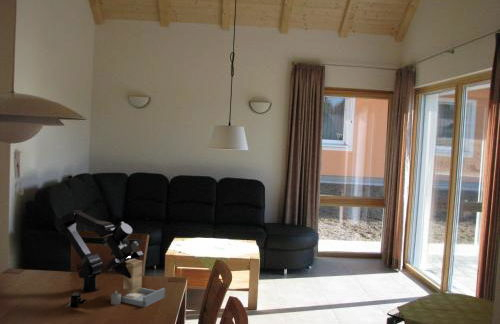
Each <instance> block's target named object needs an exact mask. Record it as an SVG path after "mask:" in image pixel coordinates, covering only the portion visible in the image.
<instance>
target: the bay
mask: <svg viewBox="0 0 500 324" xmlns="http://www.w3.org/2000/svg"><path fill="white" fill-rule="evenodd" d="M164 298H166V287H162V288H160V289H158V290H155V289H149V288H145V287H142V289H141V290H140V291H137V292H135V293H133V294H132V293H126V294H125V295H122V293H121V292H118V290H115V291H114V292H112V293H111V294H110V304H111V305H112V306H113V305H114V306H117V305H121V304H122V303H124V304H125V303H126V304H129V305H134V306H137V307H143V308H146V307H148V306H150V305H152V304H154V303H156V302H158V301H160V300H163V299H164Z"/></svg>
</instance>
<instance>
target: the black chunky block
mask: <svg viewBox="0 0 500 324" xmlns="http://www.w3.org/2000/svg"><path fill="white" fill-rule="evenodd" d="M81 293H82V292H73V293H72V294H71V295H70V302H69V303H68V304H67V305H66V306H65V308H74V309H75V308H77V309H79V308H80V306H79V305H82V304H83V303H85V301H86V299H82V294H81Z"/></svg>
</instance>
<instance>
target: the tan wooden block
mask: <svg viewBox="0 0 500 324" xmlns="http://www.w3.org/2000/svg"><path fill="white" fill-rule="evenodd" d="M143 262H144V260H142V259H141V260H140V259H139V260H137V259H132V260H129V261H126V268H127V269H128V271H129V273H130V275H131V278H130V279H129V278H128V277H126V276H124V275H123V285H122V286H123V288H122V291H123V292H124V293H127V294H129V293H132V294H133V293H135V292H137V291H140V290H141V289H142V288H143V287H142V286H143V285H142V283H143V281H142V280H143Z"/></svg>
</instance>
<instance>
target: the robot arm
mask: <svg viewBox="0 0 500 324" xmlns="http://www.w3.org/2000/svg"><path fill="white" fill-rule="evenodd" d="M77 223H80V224H81V225H83V226H86V227H88V228H90V229H91V230H92V231H93V233H94V234H95V235H97V236H98V237H99V238H103V239H102V240H103V241H102V244H101V245H102V246H107V247H108V248H109V250H110V251H111V253H110V255H111V256H113V258H111V260H109V262H108V263H106V266H105V267H106V270H107V271H108V272H111V271H113V272H116V273H118V274H121V275H123V277H124V276H126V277H128V278H129V279H130V278H131V275H130V273H129V271H128V269H127V268H126V261H129V260H132V259H137V260H140V259H141V258H142V257H143V256H144V253H143V251H142V250H140V249H139V248H140V245H139V242H138V241H136V240H135V241H133V242H131V243H130V244H129V245H127V244H126V243H125V244H124V243H123V241H125V240H126V239H127V238H128V237H129V236H131V234H132V233H133V228H132V226H130V225H129V224H128V223H125V222H124V221H119V223H118V224H117V225H114V224H113V223H112V222H109V221H105V220H99V219H97V218H95V217H93V216H91V215H89V214H87V213H85V212H83V211H82V210H79V209H78V210H72V211H70V212H69V213H67V214H65V215H63V216H59V217H56V218H55V221H54V226H55V228H56V229H57V231H59V233H61V234H63V235H65V236H66V238H67V240H69V241H68V242H70V244H71V246H72V247H73V248H74V250H75V252H76V253H77V255H78V256H79V258H80V260H81V270H80V271H79V272H78V274H77V275H78V277H79V279H82V286H81V287H79V289H80V290H81V291H82V292H84V293H87V292H88V293H89V292H94V291H99V287H97V276H100V275H101V273H102V271H103V267H104V263H103V260H102V259H101V258H100V256H99V254H97V253H96V254H92V252H91V251H90V249H89V247H88V246H87V245H86V242H84V240H83V238H82V237H81V235H80V234H79V232H78V231H77ZM104 237H106V238H104Z"/></svg>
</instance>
